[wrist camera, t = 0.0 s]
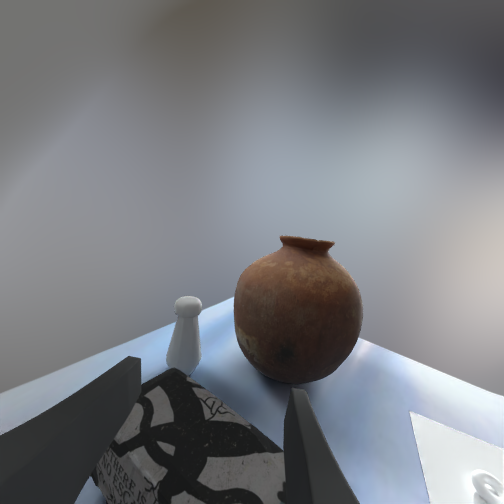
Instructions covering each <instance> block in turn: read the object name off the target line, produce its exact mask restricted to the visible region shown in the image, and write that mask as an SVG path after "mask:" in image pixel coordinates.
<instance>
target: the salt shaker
mask: <svg viewBox="0 0 504 504" xmlns="http://www.w3.org/2000/svg"><path fill="white" fill-rule="evenodd" d="M201 310H202V303H201V301H200V300H199V299H198V298H196V297H192V296H186V297H181V298H179V299H178V300H177V301H176V302H175V314H176V315H178V318H177V321H176V325H175V328H174V332H173V335H172V338H171V342H170V345H169V348H168V352H167V355H166V361H167V365H168V367H169V369H171V368H174V367H175V368H177V369H179V370H181V371H182V372H183V373H185V374H186V375H187V376H189V375H190V374H191V373H192V372H193V371H194V370H195V369H196V367H197V365H198V364H199V362H200V360H201V346H200V336H199V326H198V315H199V314H200V313H201Z"/></svg>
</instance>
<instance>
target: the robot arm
mask: <svg viewBox="0 0 504 504" xmlns="http://www.w3.org/2000/svg"><path fill="white" fill-rule="evenodd" d="M140 393H141V358H136V357H131V356H128V357H127V358H125V359H124V360H122V361H121V362H119V363H118V364H116V365H115V366H114V367H112V368H111V369H109V370H108V371H106V372H105V373H104V374H102V375H101V376H99V377H98V378H96V379H95V380H93V381H92V382H90V383H89V384H88V385H86V386H85V387H83V388H82V389H80V390H79V391H77V392H76V393H74V394H72V395H71V396H69V397H68V398H66V399H64V400H63V401H61V402H60V403H58V404H57V405H55V406H53V407H52V408H50V409H48V410H47V411H45V412H43V413H41V414H40V415H38V416H36V417H34V418H33V419H31V420H29V421H27V422H25V423H24V424H22V425H20V426H18V427H16V428H14V429H12V430H10V431H8V432H6V433H4V434H2V435H0V504H74V503H75V501H76V499H77V497H78V495H79V494H80V492H81V490H82V488H83V486H84V485H85V483H86V481H87V480H88V478H89V476H90V475H91V473H92V472H93V470H94V468H95V467H96V465H97V464H98V462H99V461H100V459H101V458H102V456H103V455H104V453H105V452H106V450H107V449H108V447H109V446H110V444H111V442H112V441H113V439H114V438H115V436H116V435H117V433H118V432H119V430H120V429H121V427H122V426H123V424H124V423H125V421H126V419H127V418H128V416H129V415H130V413H131V411H132V409H133V407H134V405H135V403H136V401H137V399H138V397H139V395H140ZM283 448H284V465H285V481H286V496H287V504H360V503H359V501H358V500H357V498H356V496H355V494H354V493H353V491H352V489H351V487H350V486H349V484H348V482H347V480H346V479H345V477H344V475H343V473H342V471H341V469H340V467H339V465H338V463H337V461H336V459H335V457H334V455H333V453H332V451H331V449H330V447H329V445H328V443H327V441H326V439H325V436H324V434H323V432H322V430H321V427H320V425H319V423H318V420H317V418H316V416H315V413H314V411H313V408H312V405H311V403H310V400H309V397H308V394H307V392H306V391H305V390H302V389H297V388H292V389H291V393H290V397H289V402H288V406H287V410H286V415H285V419H284V446H283Z"/></svg>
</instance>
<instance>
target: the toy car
mask: <svg viewBox="0 0 504 504" xmlns="http://www.w3.org/2000/svg"><path fill="white" fill-rule="evenodd" d="M91 476H92V478H93V481H94V483H95V485H96V486H97V487H99V489H100V490H101V492H102V493H103V495H104V497H105V498H106V504H287V496H286V481H285V465H284V451H283V450H282V449H281V448H279V447H278V446H277V445H276V444H275V443H274V442H273V441H271V440H270V439H269V438H268V437H267V436H265V435H264V434H263V433H261V432H260V431H259V430H258V429H257V428H256V427H254V426H253V425H252V424H250V423H249V422H248V421H246V420H245V419H244V418H243V417H241V416H240V415H239V414H237V413H236V412H235V411H234V410H232V409H231V408H230V407H229V406H227V405H226V404H225V403H223V402H222V401H221V400H220V399H218V398H217V397H216V396H215V395H213V394H212V393H210V392H209V391H208V390H206V389H205V388H204V387H202V386H201V385H200V384H198V383H197V382H195V381H194V380H193V379H191V378H190V377H189V376H187V375H186V374H185V373H183V372H182V371H181V370H179V369H177V368H175V367H174V368H171V369H169V370H167V371H165V372H163V373H162V374H160V375H158V376H156V377H154V378H152V379H151V380H149V381H147V382H145V383H143V384H142V385H141V393H140V395H139V397H138V399H137V401H136V403H135V405H134V407H133V409H132V411H131V413H130V415H129V416H128V418H127V419H126V421H125V423H124V424H123V426H122V427H121V429H120V430H119V432H118V433H117V435H116V436H115V438H114V439H113V441H112V442H111V444H110V446H109V447H108V449H107V450H106V452H105V453H104V455H103V456H102V458H101V459H100V461H99V462H98V464H97V465H96V467H95V468H94V470H93V472H92V473H91V475H90V477H91Z"/></svg>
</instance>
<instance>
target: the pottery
mask: <svg viewBox="0 0 504 504" xmlns="http://www.w3.org/2000/svg"><path fill="white" fill-rule="evenodd" d="M280 240H281V242H282V243H283V247H282V248H281V249H280V250H278V251H277V252H274V253H272V254H269V255H267V256H264V257H262V258H260V259H259V260H257V261H255V262H254V263H252V264H251V265H250V266H249V267H248V268H247V269H245V271H244V272H243V273H242V274H241V276H240V278H239V281H238V283H237V287H236V291H235V296H234V322H235V332H236V337H237V341H238V344H239V346H240V348H241V350H242V352H243V354H244V356H245V357H246V358H247V359H248V361H249V362H250V363H251V364H252V365H253V366H254V367H255V368H256V369H257V370H258V371H260V372H261V373H262V374H264V375H265V376H267V377H269V378H271V379H274V380H277V381H280V382H284V383H290V384H302V383H309V382H313V381H316V380H320V379H322V378H324V377H326V376H328V375H330V374H331V373H333V372H334V371H335V370H336V369H337V368H338V367H339V366H340V365H341V364H342V363H343V361H344V360H345V359H346V358H347V357H348V356H349V354H350V353H351V352H352V350H353V348H354V346H355V344H356V342H357V340H358V336H359V333H360V330H361V325H362V319H363V305H362V299H361V295H360V292H359V289H358V287H357V285H356V283H355V281H354V280H353V278H352V277H351V275H350V274H349V273H348V271H347V270H346V269H345V268H344V267H343V266H342V265H341V264H340V263H338V262H337V261H336V260H334V259H333V258H332V257H331V256H330V255H329V252H328V251H329V249H330V248H331V247H332V246H333V245H334V244H335V243H334V242H330V241H322V240H319V241H317V240H315V239H306V238H301V237H293V236H280Z"/></svg>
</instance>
